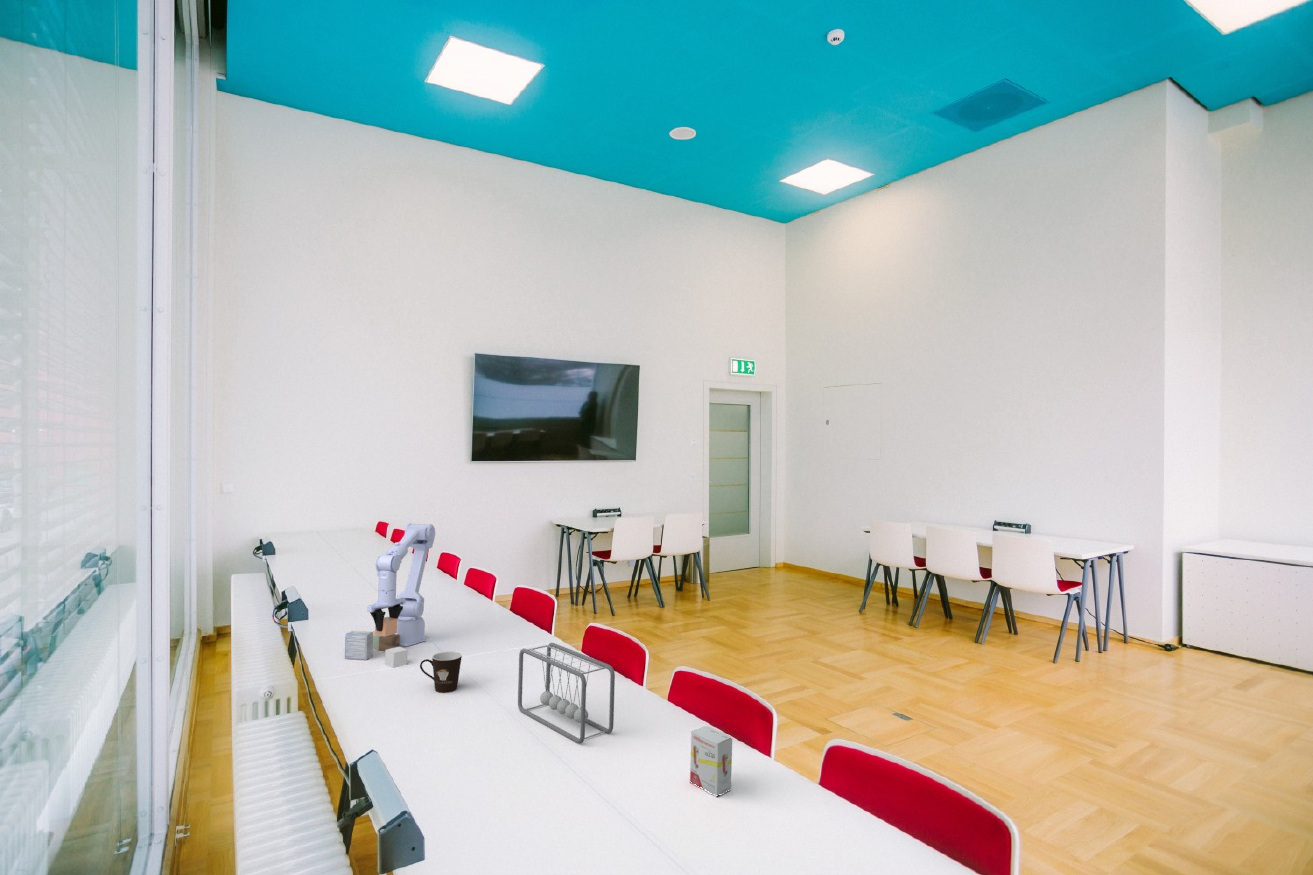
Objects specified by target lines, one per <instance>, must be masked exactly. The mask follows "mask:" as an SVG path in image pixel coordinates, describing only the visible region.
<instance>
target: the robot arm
mask: <svg viewBox="0 0 1313 875" xmlns="http://www.w3.org/2000/svg"><path fill="white" fill-rule="evenodd" d="M435 538H436V528H435V525H433V524H432V523H430V524H427V523H426V524H425V523H411V522H409V523H408V524H407V525H406V526H405V527H404V535H403V536H402V538H401V539H400V541H398V542H394V543H393V545H392V546H391V547H390V548H389V549H388V550H387V551H386V552H385V553H384V554H380V555H379V556H378V557H377V559H376V563H375V569H376V573H377V577H378V595H377V596H378V597H377V601H376V602H375V603H372V604H371V605H370V604H369V605H367V606H366V608H367V610H366V612H367V613H369V614H370V616H371V617H372V619H373V622H374V625H376V630H377V631H382V629H383V620H384V617H386V616H385V615H386V611H383V610H384V609H387V612H388V615H389V616H388V617H391V618H396V619H397V633H396V634H400V647H404V648H405V647H406V648H407V647H410V646H413V645H416V644H419V643H422V642H425V641H427V639H426V638H425V632H426V631H425V627H426V625H425V623H426V622H425V620H424V618H423V617H422V615H423V614H424V611H425V606H424V605H425V598H424V597H423V596H422V595H421V594H420V593H419V592H420V588H421V584H422V579H423V575H424V571H425V567H426V563H427V562H426V561H427V558H428V554H429V549H431V548H433V545H434V542H435ZM410 547H411V548H412V549H413V555H412V559H411V562H410V563H411V564H410V567H409V571H408V576H407V580H406V584H405V588H404V590H403V591H402V592H400V593H399V594H398V595H397V574H398V573H397V572H398V571H399V570H400V567H401V564H402V562H403V559H404V558H405V557H406V556H407V554H408V552H409V548H410Z"/></svg>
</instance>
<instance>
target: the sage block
mask: <svg viewBox="0 0 1313 875" xmlns="http://www.w3.org/2000/svg"><path fill="white" fill-rule="evenodd" d="M372 632H373V650H379V637H380V635H376V634H375V630H374V631H372Z"/></svg>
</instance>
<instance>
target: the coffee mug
mask: <svg viewBox="0 0 1313 875" xmlns="http://www.w3.org/2000/svg"><path fill="white" fill-rule="evenodd" d="M462 655H463V654H462V653H460V652H459V651H458V652H457V651H443V652H437V653H434V654H433V655H432V656H431V659H428V658H427V659H424V660H422V661H421V662H420V664H419V668H420V670H421V672H422V673H423V674H424V675H426V676H427V677H428V678H430V679H432V680H433V683H434V691H435V692H437V693H440V694H448V693H453V692H455V691H456V690H457V689H458V685H459V676H460V670H461V666H462V665H461V663H462V657H463V656H462ZM425 662H429V663H430V664H431V666H432V669H433V670H432V672H433V676H432V675H431V674H429V673H428V672H426V671H425V670H424V668H423V663H425Z"/></svg>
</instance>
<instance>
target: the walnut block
mask: <svg viewBox="0 0 1313 875" xmlns="http://www.w3.org/2000/svg"><path fill="white" fill-rule="evenodd" d="M395 647H401V645H400V634H397V633H396V634H393V635H389V636H386V637H385V636H380V637H379V649H378V651H379V652H385V653H386V650H387V649H391V648H395Z"/></svg>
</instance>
